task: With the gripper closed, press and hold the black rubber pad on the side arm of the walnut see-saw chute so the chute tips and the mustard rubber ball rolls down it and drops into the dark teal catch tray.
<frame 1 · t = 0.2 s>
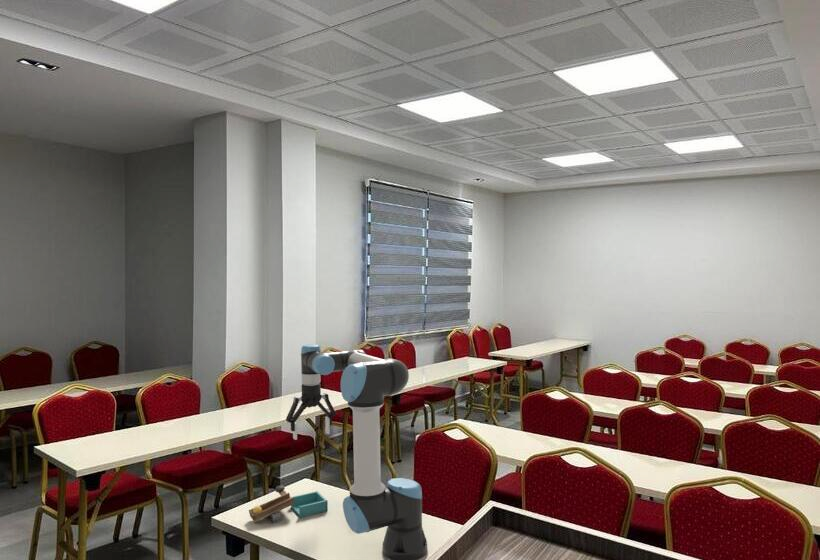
hand: (311, 436, 223), 28 cm above the table, fingers open, 13 cm apart
lever: (269, 502, 217), point 4 cm above the table, hinge at -12.0°, touching ball
stand: (273, 517, 213), on the table
ball: (257, 510, 210), point 4 cm above the table, tilted 11°, touching lever
tray: (309, 508, 220), on the table
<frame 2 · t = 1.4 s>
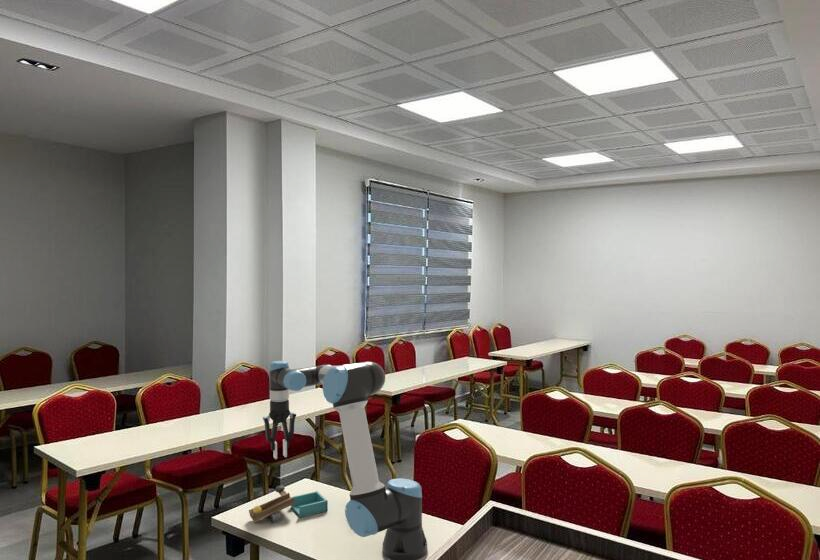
hand: (280, 456, 226), 19 cm above the table, fingers open, 3 cm apart
nothing on the table moved.
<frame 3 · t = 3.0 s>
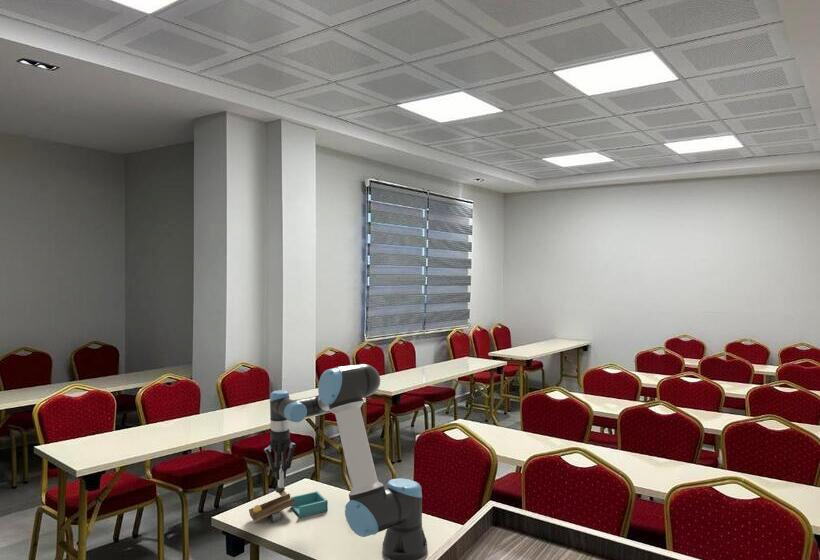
hand: (280, 486, 227), 6 cm above the table, fingers closed
lever: (269, 502, 217), point 4 cm above the table, hinge at -10.1°, touching ball, gripper
everything else where it was.
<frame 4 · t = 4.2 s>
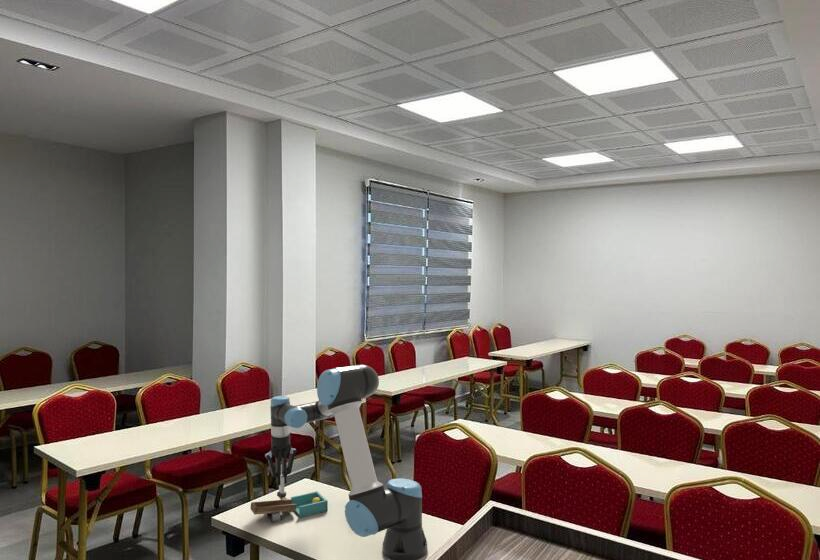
hand: (281, 492, 227), 4 cm above the table, fingers closed
lever: (270, 502, 218), point 4 cm above the table, hinge at 8.1°, touching gripper
ball: (316, 501, 222), point 2 cm above the table, tilted 125°, touching tray
everything else where it was.
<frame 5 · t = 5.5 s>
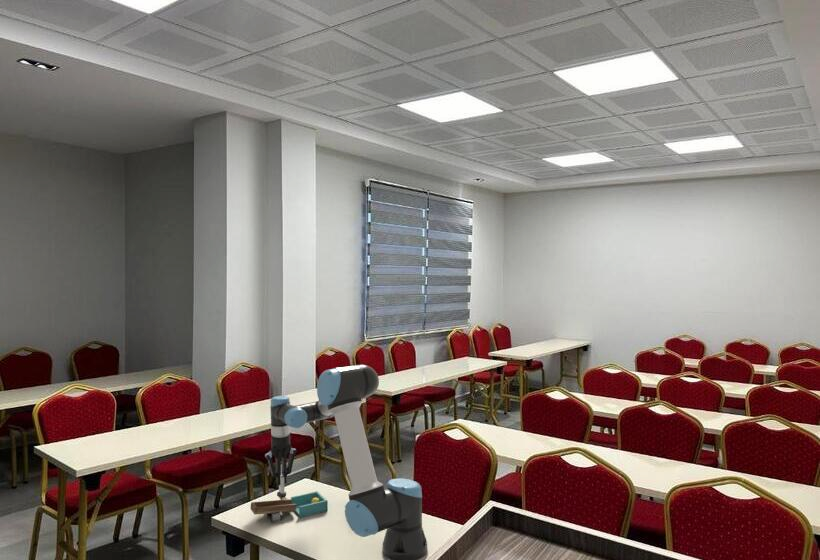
hand: (281, 492, 227), 4 cm above the table, fingers closed
ball: (315, 501, 221), point 2 cm above the table, tilted 112°, touching tray
everything else where it was.
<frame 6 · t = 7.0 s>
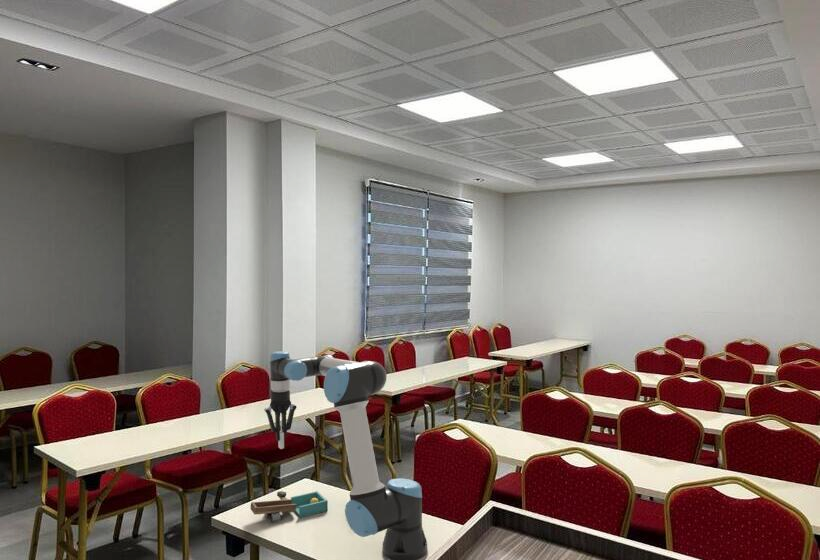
hand: (281, 447, 226), 22 cm above the table, fingers closed
lever: (270, 502, 218), point 4 cm above the table, hinge at 8.1°
ball: (314, 502, 221), point 2 cm above the table, tilted 96°, touching tray
everything else where it was.
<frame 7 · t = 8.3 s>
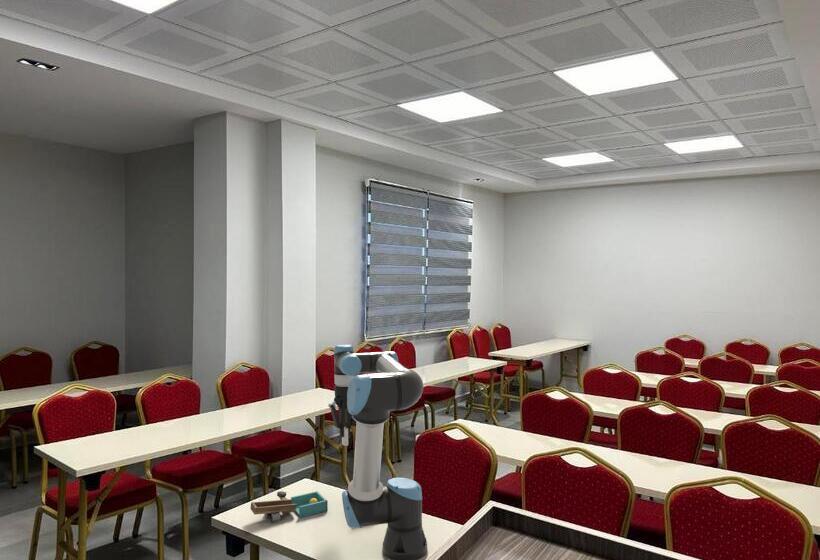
hand: (345, 444, 218), 26 cm above the table, fingers closed
ball: (313, 502, 221), point 2 cm above the table, tilted 82°, touching tray
everything else where it was.
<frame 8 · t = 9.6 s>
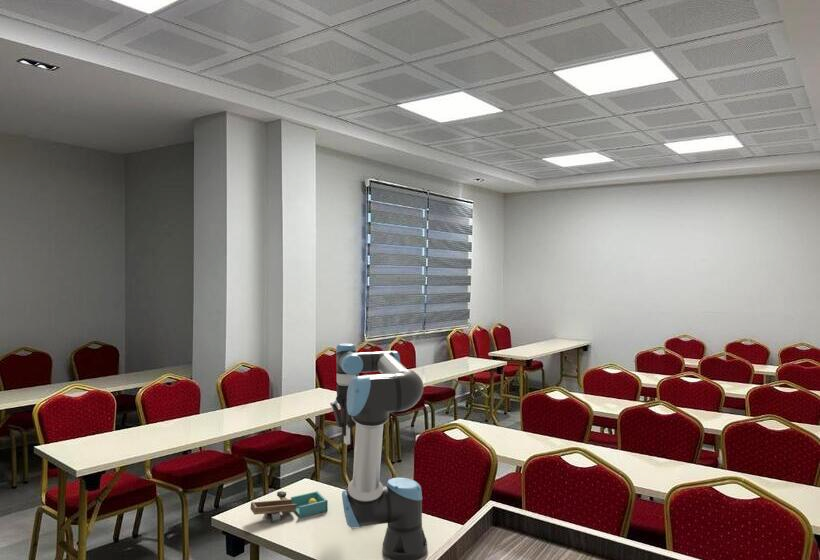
hand: (347, 443, 218), 26 cm above the table, fingers closed
ball: (312, 502, 221), point 2 cm above the table, tilted 69°, touching tray
everything else where it was.
at the end: ball inside the target area on the tray (1.4 cm from its centre), point 2.2 cm above the tray's base; ball point 2.2 cm above the table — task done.
